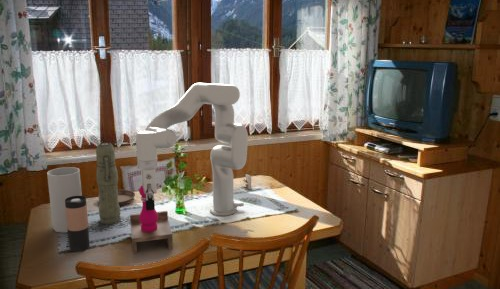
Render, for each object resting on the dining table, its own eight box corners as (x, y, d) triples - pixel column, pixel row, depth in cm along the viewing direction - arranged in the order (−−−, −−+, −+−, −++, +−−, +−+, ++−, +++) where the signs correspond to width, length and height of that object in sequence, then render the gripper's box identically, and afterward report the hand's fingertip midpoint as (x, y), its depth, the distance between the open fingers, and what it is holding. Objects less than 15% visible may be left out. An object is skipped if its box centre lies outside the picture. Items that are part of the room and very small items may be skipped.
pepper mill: (154, 233, 172) (151, 183, 167) (136, 231, 173) (133, 182, 168) (161, 225, 179) (159, 178, 174) (144, 224, 180) (141, 177, 175)
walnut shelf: (168, 230, 188) (167, 210, 186) (172, 248, 173) (172, 226, 170) (131, 235, 184) (130, 214, 182) (132, 253, 168) (131, 231, 166)
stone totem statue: (118, 214, 206) (112, 140, 198) (123, 223, 196) (118, 145, 188) (98, 217, 202) (91, 142, 194) (102, 226, 192) (96, 147, 184)
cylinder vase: (53, 224, 195) (47, 169, 189) (83, 219, 200) (78, 165, 194) (53, 235, 184) (46, 177, 178) (85, 230, 189) (80, 173, 183)
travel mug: (72, 243, 176) (68, 195, 172) (92, 243, 177) (88, 195, 172) (66, 252, 169) (61, 202, 164) (87, 251, 170) (83, 202, 165)
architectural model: (245, 190, 240) (245, 177, 239) (239, 187, 246) (239, 174, 245) (251, 189, 242) (251, 176, 240) (245, 186, 248) (245, 173, 246)
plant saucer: (136, 205, 218) (136, 199, 217) (98, 209, 213) (97, 203, 212) (134, 193, 234) (134, 188, 234) (99, 197, 229) (98, 191, 229)
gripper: (159, 168, 164) (161, 212, 168) (155, 157, 180) (157, 197, 184) (138, 170, 162) (140, 214, 166) (136, 158, 178) (138, 199, 182)
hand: (149, 205), depth 175 cm, fingers open, 9 cm apart
